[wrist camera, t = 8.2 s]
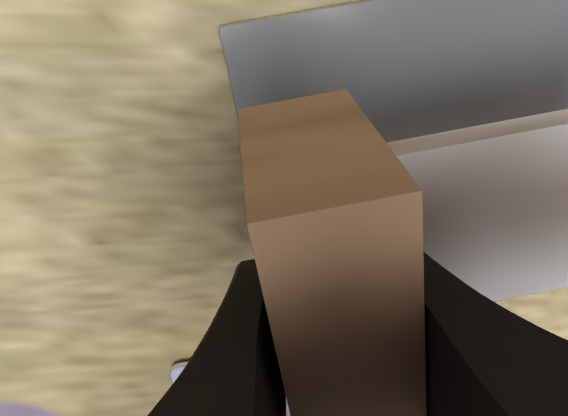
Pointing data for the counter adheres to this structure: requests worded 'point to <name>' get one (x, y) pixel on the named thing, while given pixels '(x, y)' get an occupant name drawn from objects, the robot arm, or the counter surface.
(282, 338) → the brown grey l-shaped piece
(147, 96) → the counter surface
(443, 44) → the tool rest
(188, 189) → the counter surface
